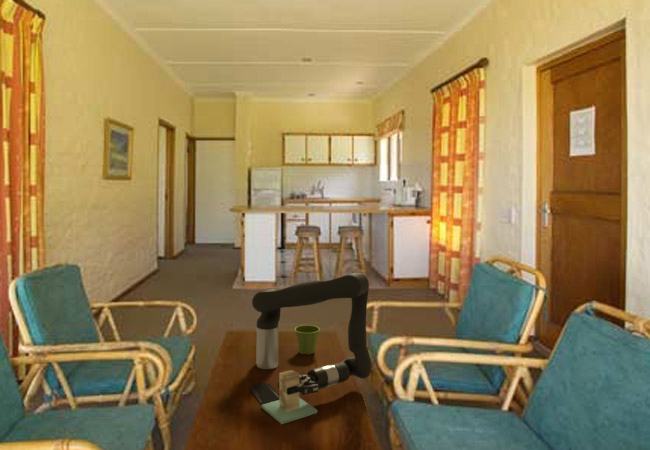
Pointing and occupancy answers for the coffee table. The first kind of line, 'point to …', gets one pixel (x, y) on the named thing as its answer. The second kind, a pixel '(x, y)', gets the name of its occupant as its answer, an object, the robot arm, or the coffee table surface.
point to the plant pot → (307, 338)
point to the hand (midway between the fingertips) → (282, 388)
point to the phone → (264, 393)
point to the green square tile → (292, 415)
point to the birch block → (285, 382)
